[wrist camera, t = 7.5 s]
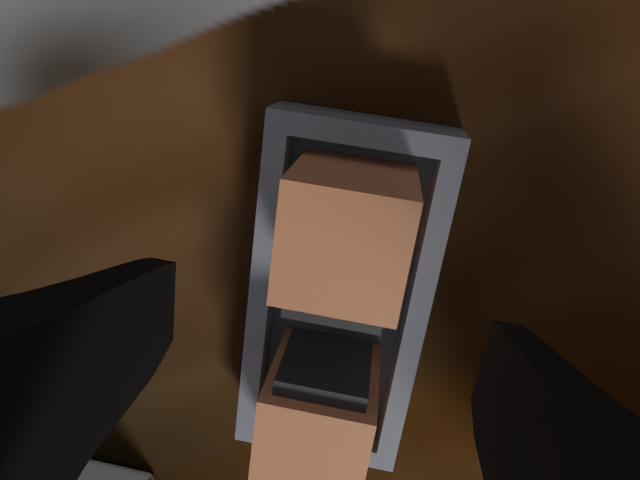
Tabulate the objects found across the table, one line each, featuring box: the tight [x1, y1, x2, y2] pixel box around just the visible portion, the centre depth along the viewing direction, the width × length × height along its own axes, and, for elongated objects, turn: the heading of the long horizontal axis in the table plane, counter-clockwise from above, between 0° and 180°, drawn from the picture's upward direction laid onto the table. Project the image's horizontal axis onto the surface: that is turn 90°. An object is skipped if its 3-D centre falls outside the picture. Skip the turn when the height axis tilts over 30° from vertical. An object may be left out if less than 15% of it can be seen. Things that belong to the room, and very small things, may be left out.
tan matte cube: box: [266, 147, 424, 336], centre depth 18 cm, size 5×4×5 cm
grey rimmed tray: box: [235, 100, 471, 480], centre depth 19 cm, size 14×7×6 cm, turn 172°
